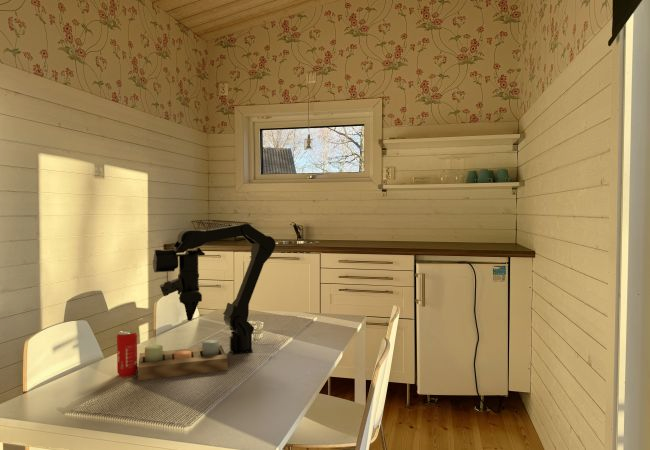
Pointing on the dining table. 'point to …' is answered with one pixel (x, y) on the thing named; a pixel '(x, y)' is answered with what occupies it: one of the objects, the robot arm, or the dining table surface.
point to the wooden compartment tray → (181, 364)
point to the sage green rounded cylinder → (210, 348)
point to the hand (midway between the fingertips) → (189, 320)
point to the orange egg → (182, 354)
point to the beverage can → (127, 353)
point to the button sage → (154, 353)
